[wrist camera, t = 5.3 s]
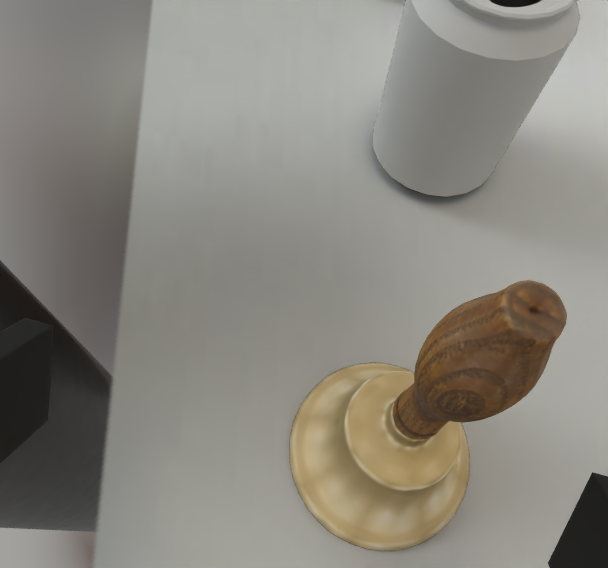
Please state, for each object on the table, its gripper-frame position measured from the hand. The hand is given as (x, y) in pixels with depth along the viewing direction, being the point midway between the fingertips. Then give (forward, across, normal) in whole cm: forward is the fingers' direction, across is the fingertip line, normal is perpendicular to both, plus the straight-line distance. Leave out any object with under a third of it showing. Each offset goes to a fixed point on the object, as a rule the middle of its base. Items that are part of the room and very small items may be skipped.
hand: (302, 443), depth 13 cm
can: (+23, +3, +6) cm, 24 cm away
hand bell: (+10, +4, -7) cm, 13 cm away
